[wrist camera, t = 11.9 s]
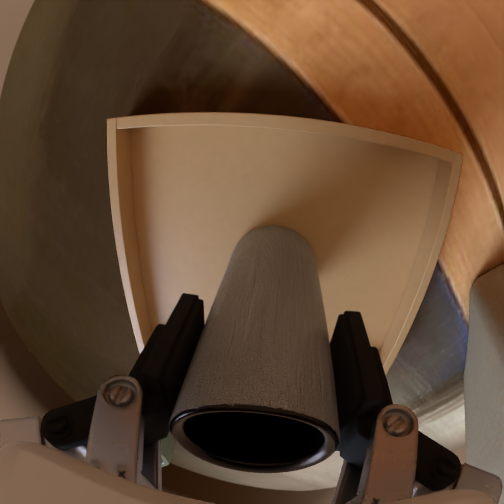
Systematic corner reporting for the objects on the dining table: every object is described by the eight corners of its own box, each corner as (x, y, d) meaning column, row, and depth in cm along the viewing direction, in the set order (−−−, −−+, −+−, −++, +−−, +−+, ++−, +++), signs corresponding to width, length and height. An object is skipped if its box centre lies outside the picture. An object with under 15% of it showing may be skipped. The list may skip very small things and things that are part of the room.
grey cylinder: (320, 227, 14) (364, 410, 5) (310, 301, 16) (319, 475, 7) (231, 221, 14) (149, 390, 5) (232, 295, 16) (183, 462, 7)
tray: (149, 335, 20) (139, 353, 18) (126, 117, 13) (106, 118, 11) (377, 360, 18) (383, 380, 17) (444, 149, 12) (463, 154, 10)
